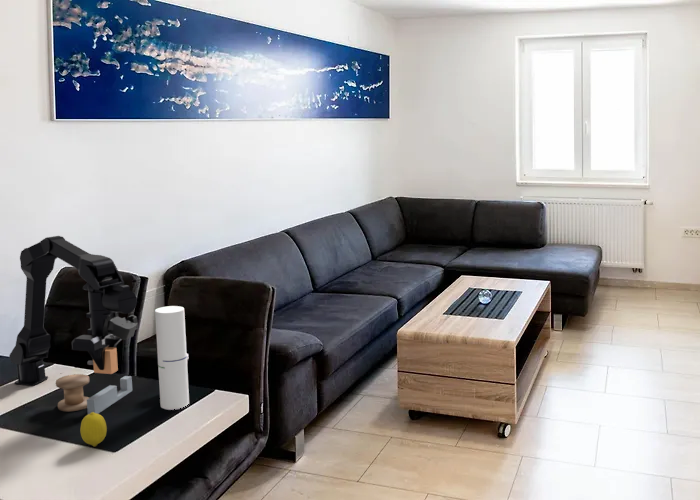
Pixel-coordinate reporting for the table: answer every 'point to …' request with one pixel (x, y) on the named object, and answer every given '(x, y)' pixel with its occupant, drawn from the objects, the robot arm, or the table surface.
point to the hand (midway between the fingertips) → (105, 367)
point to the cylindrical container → (172, 357)
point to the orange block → (107, 362)
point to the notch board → (109, 395)
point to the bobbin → (73, 392)
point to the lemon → (93, 429)
